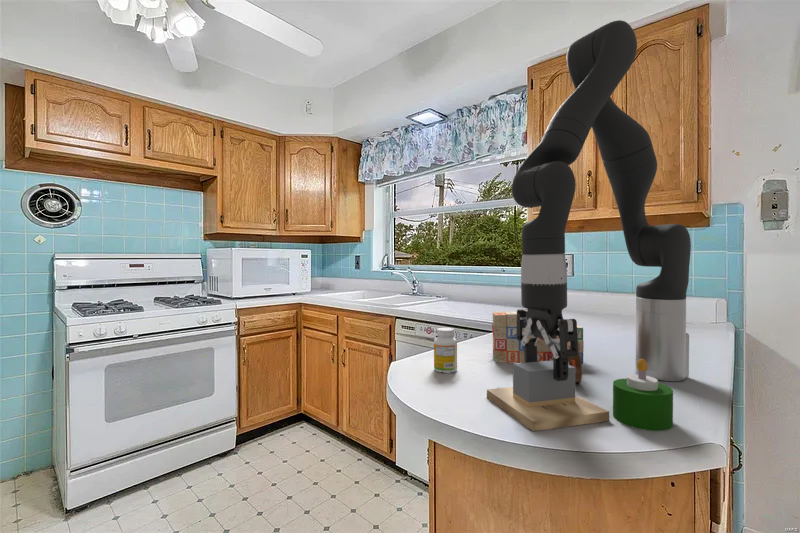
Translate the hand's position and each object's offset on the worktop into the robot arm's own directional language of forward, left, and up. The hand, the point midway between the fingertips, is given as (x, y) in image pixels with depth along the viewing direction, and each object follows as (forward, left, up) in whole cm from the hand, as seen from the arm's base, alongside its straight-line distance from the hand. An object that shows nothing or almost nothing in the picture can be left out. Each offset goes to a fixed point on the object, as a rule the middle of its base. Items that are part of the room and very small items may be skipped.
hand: (544, 372), depth 69 cm
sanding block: (0, 0, -5) cm, 5 cm away
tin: (-16, -14, -7) cm, 22 cm away
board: (0, 0, -6) cm, 6 cm away
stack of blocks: (-17, -28, -7) cm, 34 cm away
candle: (-12, +9, -7) cm, 16 cm away
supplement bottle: (+8, -26, -6) cm, 28 cm away
